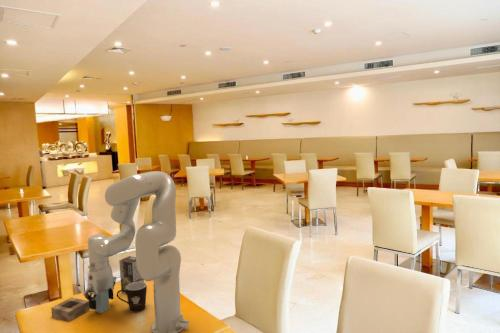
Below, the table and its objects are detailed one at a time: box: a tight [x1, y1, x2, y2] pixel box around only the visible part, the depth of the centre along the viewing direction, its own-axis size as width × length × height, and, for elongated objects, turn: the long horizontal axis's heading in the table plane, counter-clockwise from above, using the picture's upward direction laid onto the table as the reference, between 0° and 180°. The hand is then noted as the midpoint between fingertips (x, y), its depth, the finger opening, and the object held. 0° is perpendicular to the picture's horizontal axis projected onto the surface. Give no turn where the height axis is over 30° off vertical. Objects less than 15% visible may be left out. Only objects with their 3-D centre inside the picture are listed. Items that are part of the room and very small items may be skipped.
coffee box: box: [118, 255, 145, 295], centre depth 170 cm, size 9×6×16 cm
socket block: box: [50, 297, 91, 322], centre depth 152 cm, size 10×10×4 cm
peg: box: [94, 290, 110, 314], centre depth 155 cm, size 4×4×10 cm
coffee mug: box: [116, 281, 148, 313], centre depth 155 cm, size 12×9×10 cm
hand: (101, 303), depth 155 cm, fingers open, 9 cm apart
